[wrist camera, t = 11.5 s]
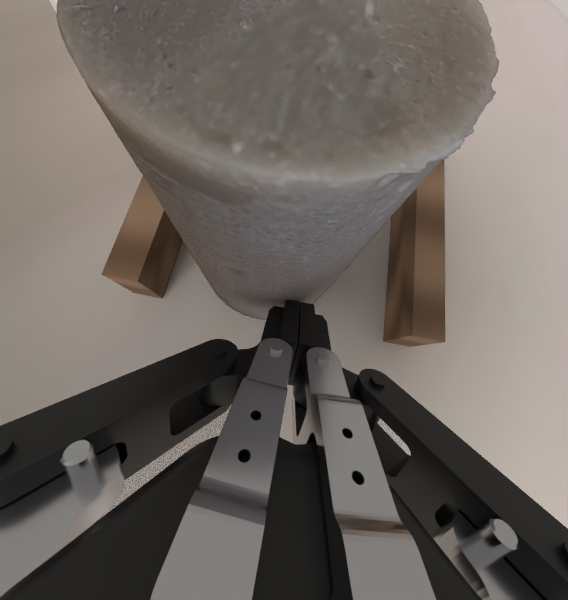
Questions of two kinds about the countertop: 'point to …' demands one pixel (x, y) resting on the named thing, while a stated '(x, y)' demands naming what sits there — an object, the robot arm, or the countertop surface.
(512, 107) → the countertop surface
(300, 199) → the pillar candle
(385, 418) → the robot arm
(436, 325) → the display frame
